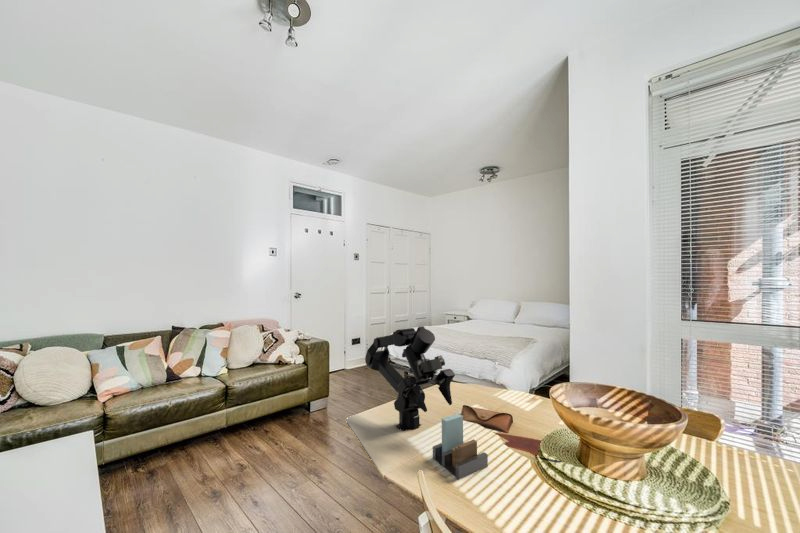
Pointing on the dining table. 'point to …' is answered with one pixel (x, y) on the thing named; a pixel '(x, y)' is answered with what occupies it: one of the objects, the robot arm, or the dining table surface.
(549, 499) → the dining table surface
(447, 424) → the tall sheet
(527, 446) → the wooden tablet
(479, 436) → the dining table surface
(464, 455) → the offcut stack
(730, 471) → the dining table surface
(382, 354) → the robot arm
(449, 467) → the rack
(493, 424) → the sunglasses case
